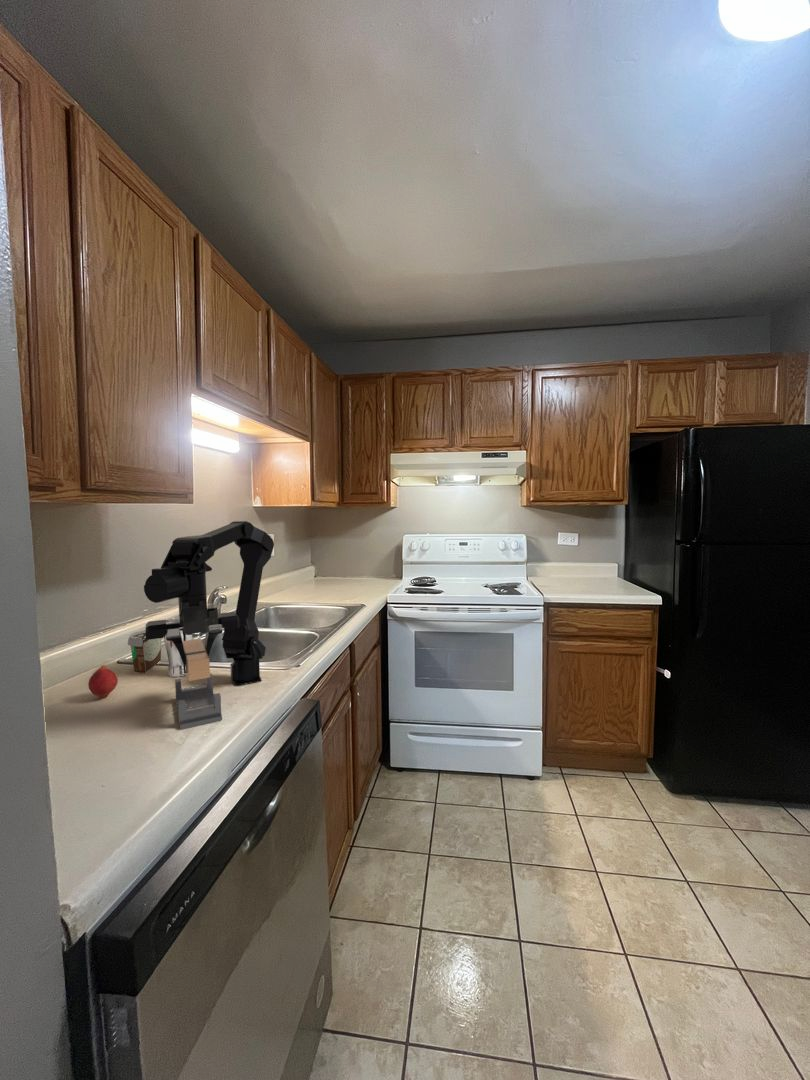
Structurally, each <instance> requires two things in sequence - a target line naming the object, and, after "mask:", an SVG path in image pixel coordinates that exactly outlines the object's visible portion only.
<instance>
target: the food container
mask: <svg viewBox="0 0 810 1080" xmlns="http://www.w3.org/2000/svg"><path fill="white" fill-rule="evenodd" d="M127 645H128V646H130V650H131V651H130V652H131V657H132V658H131V659H132V665H133V671H134V672H135V673H137V672H138V673H139V674H147V673H148V672H150V671H151V670H152V669H154V668H156V664H157V663H158V662H159V661H161V662H162V638H158V639H151V640H147V639H146V629H145V630H140V631H137V632H136V631H135V632H134V633H132V634H130V635H129V637H128V641H127ZM146 672H147V673H146Z"/></svg>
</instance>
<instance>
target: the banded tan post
mask: <svg viewBox="0 0 810 1080" xmlns="http://www.w3.org/2000/svg"><path fill="white" fill-rule="evenodd" d="M182 642H183V648H184V652H185V658H186V665H185V667H186V673H187V675H186V676H187V677H188V678H187V679H188V682H192V681H197V680H203V679H206V678H209V677H210V674H211V669H210V666H211V665H210V656H209V657H208V655H207V651H206V650H205V644H204V643H203V641H202V639H201V638H196V639H192V640H187V641H182Z"/></svg>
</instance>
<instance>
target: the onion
mask: <svg viewBox="0 0 810 1080" xmlns="http://www.w3.org/2000/svg"><path fill="white" fill-rule="evenodd" d="M87 684H88V689H89V691H90V693H92V694H93V695H94V696H96V697H99V698H103V699H104V698H107V697H108V696H109V695H110V694H111V693H112V692H113V691H114V690H115V689H116V688H117V686H118V676H117V674H116V673H115V672H114V671H113V670H111V669H110V668H107V665H106V664H102V665H100V667H99V668H98V669H97V670H96V671H95V672H93V673H92V675H91V676H90V677H89V679H88V683H87Z"/></svg>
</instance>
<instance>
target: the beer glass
mask: <svg viewBox="0 0 810 1080" xmlns="http://www.w3.org/2000/svg"><path fill="white" fill-rule="evenodd" d="M165 620H166V624H168V623H177V622H179V617H173V618H168V619H165ZM180 633H181V637H182V641H187V640H193V634H192V635H185V634H184V630H182V631H180ZM163 640H164V641H163V642H164V646H165V650H166V651H165V652H166V655H167V660H168V669H167V676H168V677H169V678H181V677H180V676H182V677H185V676H184V675H186V676H188V675H187V673H186V667H185V665H184V664H183V661H182V659H181V657H180V654H179V652H178V649H177V648H176V646H175V644H174V643H173V642H172V641H167V640H166V635H165V636H164V637H163ZM182 643H183V642H182Z"/></svg>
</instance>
